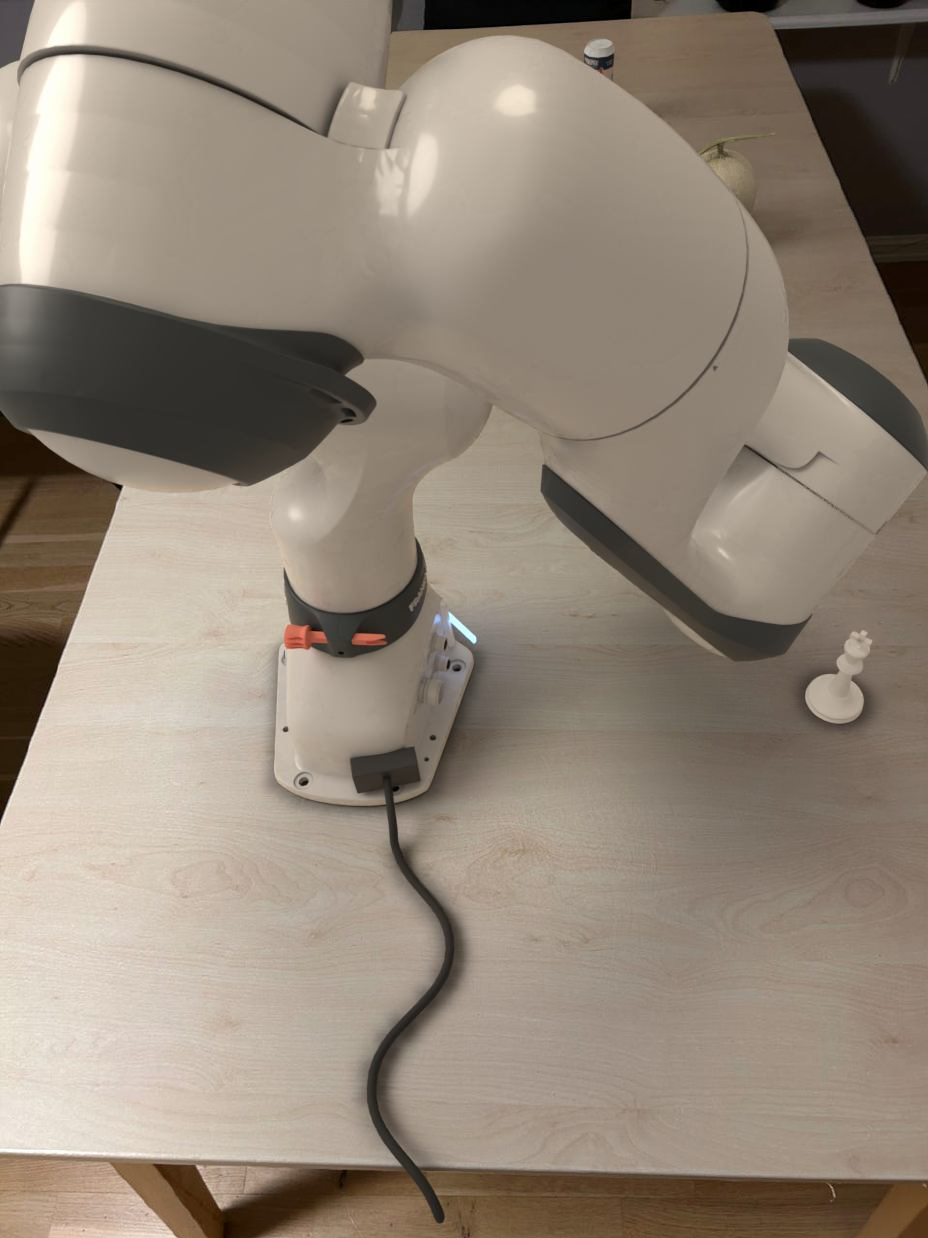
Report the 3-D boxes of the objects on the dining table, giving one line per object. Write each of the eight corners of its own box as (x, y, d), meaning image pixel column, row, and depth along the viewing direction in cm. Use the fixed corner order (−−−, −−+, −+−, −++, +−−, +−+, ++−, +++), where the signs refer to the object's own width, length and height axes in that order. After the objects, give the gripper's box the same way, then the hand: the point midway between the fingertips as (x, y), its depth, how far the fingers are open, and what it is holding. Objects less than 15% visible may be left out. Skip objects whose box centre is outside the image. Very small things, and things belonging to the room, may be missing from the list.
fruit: (652, 229, 133) (663, 120, 121) (723, 209, 135) (741, 100, 123) (688, 265, 127) (703, 154, 115) (762, 244, 129) (785, 133, 117)
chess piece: (820, 668, 85) (848, 599, 78) (872, 695, 83) (906, 627, 75) (795, 704, 83) (821, 638, 75) (847, 733, 81) (879, 667, 73)
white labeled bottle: (576, 121, 155) (578, 41, 145) (601, 114, 156) (605, 34, 146) (590, 132, 152) (593, 52, 143) (616, 125, 153) (621, 44, 144)
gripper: (902, 418, 61) (911, 447, 73) (627, 322, 69) (676, 362, 81) (857, 508, 62) (873, 521, 74) (592, 403, 70) (646, 431, 83)
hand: (768, 437), depth 78 cm, fingers open, 8 cm apart
